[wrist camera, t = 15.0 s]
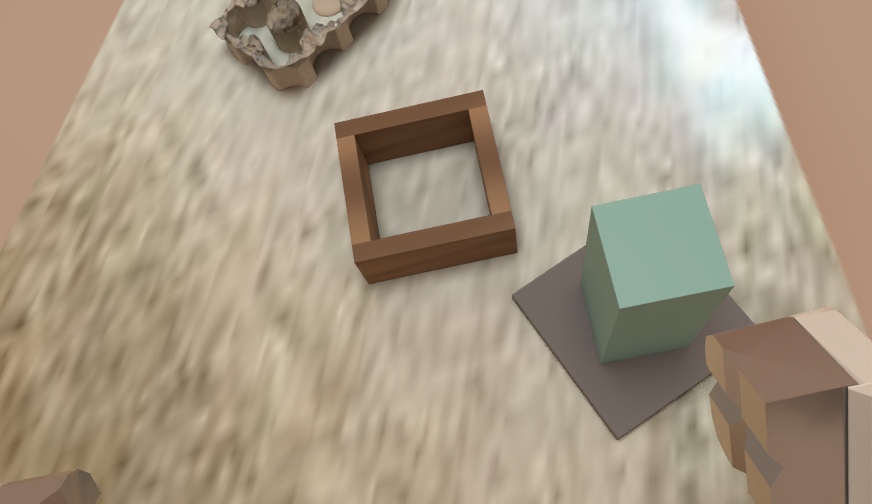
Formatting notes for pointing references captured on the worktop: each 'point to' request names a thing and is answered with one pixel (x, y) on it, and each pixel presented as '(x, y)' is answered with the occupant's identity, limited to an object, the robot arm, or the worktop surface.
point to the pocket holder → (410, 136)
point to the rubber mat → (625, 379)
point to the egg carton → (290, 34)
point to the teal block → (652, 273)
